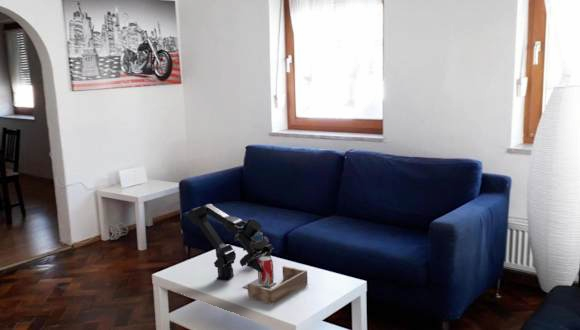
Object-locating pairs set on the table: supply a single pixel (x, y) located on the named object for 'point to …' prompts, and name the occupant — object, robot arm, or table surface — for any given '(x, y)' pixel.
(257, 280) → the mat
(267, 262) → the soda can
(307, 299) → the table surface
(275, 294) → the crate
